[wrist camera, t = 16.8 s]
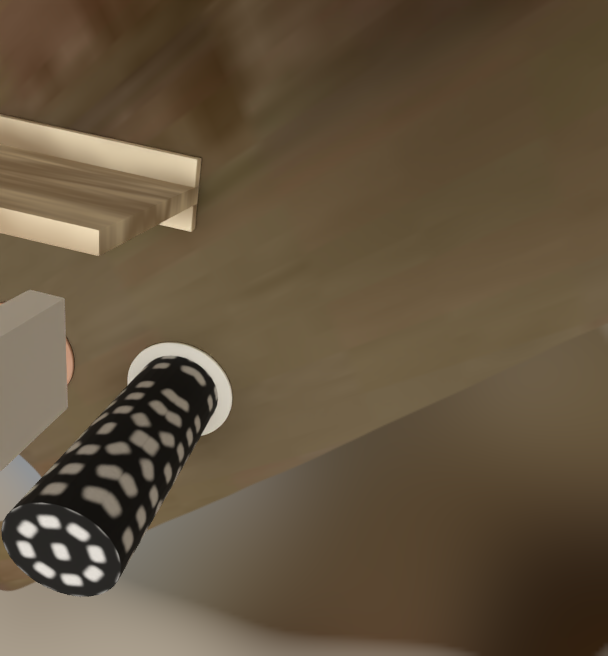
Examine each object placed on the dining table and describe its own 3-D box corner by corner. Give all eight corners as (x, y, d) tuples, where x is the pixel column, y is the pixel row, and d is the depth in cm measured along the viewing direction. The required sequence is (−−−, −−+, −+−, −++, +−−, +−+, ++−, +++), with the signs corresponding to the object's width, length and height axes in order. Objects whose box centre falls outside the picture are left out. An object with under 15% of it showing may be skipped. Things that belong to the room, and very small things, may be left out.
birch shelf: (-3, 113, 42) (-207, 120, 28) (201, 158, 41) (99, 189, 27) (2, 184, 45) (-181, 224, 30) (195, 228, 44) (98, 292, 29)
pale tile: (131, 330, 49) (129, 331, 49) (239, 356, 48) (237, 358, 48) (127, 420, 54) (126, 422, 53) (225, 445, 53) (224, 447, 53)
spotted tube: (224, 426, 51) (134, 601, 33) (149, 425, 53) (25, 591, 35) (210, 354, 48) (102, 505, 30) (131, 355, 50) (-17, 499, 32)
